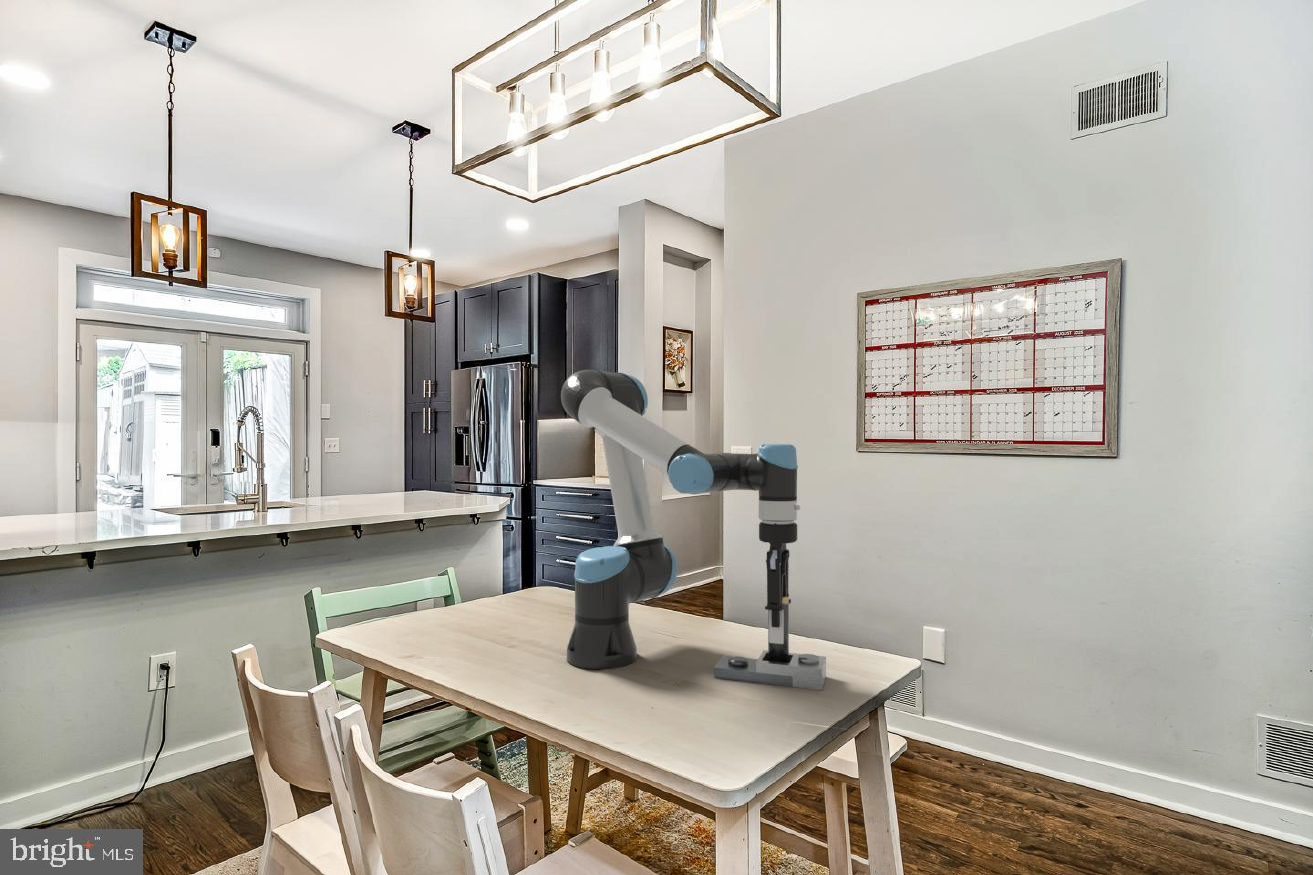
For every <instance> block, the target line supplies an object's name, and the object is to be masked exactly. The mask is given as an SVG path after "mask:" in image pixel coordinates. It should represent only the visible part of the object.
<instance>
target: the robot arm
mask: <svg viewBox="0 0 1313 875" xmlns="http://www.w3.org/2000/svg"><path fill="white" fill-rule="evenodd" d="M560 399H561V401H560V402H561V405H562V407H563V409H564V411H565V412H566V413H567V415H569V416H570V417H571V419H573V420H575V421H576V422H577V423H579V424H580V425H581V426H583V427H585V428H594V432H595V433H596V434H597V435H599V436H600V437H601V438H602V443H603V449H604V455H605V457H604V458H605V462H606V467H607V474H608V479H609V486H610V492H611V493H610V494H611V498H612V503H613V510H614V515H615V516H614V517H615V521H616V528H617V533H618V534H617V535H618V537H617V539H616V541H615V542H614V544H613V545H608V546H601V547H600V546H598V547H594V548H589V549H587V550H586V549H585V550H584V551H583V552H580V554H578V556H577V557H576V559H575V570H574V572H573V577H574V625H573V628H572V631H571V634H570V637H569V641H568V644H567V647H566V661H567V662H568V663H569V664H571V665H572V666H575V667H578V668H581V669H589V670H610V669H615V668H616V669H617V668H621V667H622V668H623V667H626V666H628V665H631V664H632V663H634V662H636V660H637V657H638V656H637V654H638V653H637V652H638V651H637V650H638V649H637V644H636V640H635V637H634V635H633V632H632V629H631V626H630V620H629V619H630V616H629V612H630V611H629V610H630V607H629V606H630V604H632V603H637V602H641V601H644V600H649V599H654V598H657V597H659V596H661V595H665V594H666V593H667V592H669V590H670V589H672V587H673V585H674V584H675V582H676V580H677V576H678V570H679V568H678V562H677V557H676V555H675V553H674V552H673V551H671V548H670V547H668V546H666V545H664V544H665V543H664V537H663V535H662V534H660V533H658V532H657V531H656V528H655V524H654V519H653V513H652V507H651V501H650V497H649V496H650V495H649V490H648V484H647V478H646V472H645V468H644V467H645V466H644V462H643V460H644V461H645V462H646V463H648V464H650V465H651V466H653V467H654V468H655V469H657V470H658V471H660V472H662V473H663V474H665V475H666V476H668V480H669V482H670V483H671V486H672V488H673V489H674V490H675V491H676V492H679V493H680V494H688V495H689V494H690V495H698V494H703V493H704V494H705V493H713V492H725V491H739V490H740V491H757V492H758V519H759V520H760V522H759V523H758V540H759V541H760V542H762V543H769V550H768V551H767V552H766V559H765V563H766V564H765V565H766V580H767V581H766V592H767V593H766V594H767V595H766V599H767V600H766V603H767V604H766V606H764V610H767V611H768V610H769V643H777V644H783V643H784V610H782V609H783V606H782V599H783V596H787V597H790V594H789V561H790V560H789V558H790V550H789V549H787V544H793V543H795V542H797V541H798V524H797V523H796V522H794V521H797V519H798V511H799V510H801V506H800V505H798V504H797V503H798V495H797V494H798V468H799V466H798V457H797V455H798V454H797V447H796V446H794V445H793V444H790V443H788V444H787V443H781V444H780V443H779V444H778V443H773V444H772V443H771V444H770V443H769V444H768V443H762V444H760V445H759V447H758V452H757V453H738V452H737V453H734V452H720V453H704V452H702V450H701V451H700V450H699V449H697V448H695V447H693V446H692V445H691V444H689V443H687V442H686V441H684V440H682V439H681V438H679V437H677V435H674V434H673V433H671V432H669V431H668V430H666V429H665V428H662V427H661V426H659V424H656V423H655V422H653V421H651V420H649V419H648V418H647V417H644V415H645V413H646V409H647V408H648V402H649V400H648V399H649V398H648V393H647V390H646V388H645V386H644V383H642V382H641V381H640V380H639V379H638V378H637V377H635V376H633V375H629V374H626V373H624V372H611V371H603V370H602V371H601V370H594V369H583V370H582V369H581V370H579V371H576V372H574V373H572V374H571V375H570V376H568V377H567V379H566V380H565V381H564V383H563V385H562V387H561V391H560ZM791 603H792V599H791V598H789V605H790V604H791Z"/></svg>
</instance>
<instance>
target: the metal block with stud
mask: <svg viewBox="0 0 1313 875" xmlns="http://www.w3.org/2000/svg"><path fill="white" fill-rule="evenodd" d="M713 678H715V679H723V680H733V681H740V682H746V683H747V682H749V683H756V684H766V685H772V686H783V687H791V688H798V689H799V688H800V689H807V690H815V691H816V690H817V691H823V689H824V686H825V683H826V678H827V656H825V655H824V656H823V655H817V654H812V653H796V652H795V653H794V652H789V663H781V662H772V661H768V649H767V650H766V649H764V650H762V652H761V654H760V655H759V657H758V658H749V657H745V656H731V655H722V656H721V658H720V659H719V660H718V662H717V663H716V664H715V665H714V667H713Z"/></svg>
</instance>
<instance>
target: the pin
mask: <svg viewBox="0 0 1313 875" xmlns="http://www.w3.org/2000/svg"><path fill="white" fill-rule="evenodd" d="M789 597H790V596H789ZM789 597H787V596H783V599H782V606H783V609H782V610H784V643H783V644H777V643H769V610H767V611H768V613H767V625H768V626H767V630H768V631H767V633H768V634H767V639H768V640H767V643H768V645H767V651H768V661H772V662H781V663H789V653H790V652H789V651H790V649H789V648H790V644H789V643H790V642H789V641H790V640H789V638H790V637H789V636H790V635H789V634H790V630H789V629H790V627H789V626H790V623H789V622H790V621H789V620H790V619H789V617H790V612H789V610H790V609H789V608H790V607H789V606H790V604H789V599H790V598H789Z"/></svg>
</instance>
